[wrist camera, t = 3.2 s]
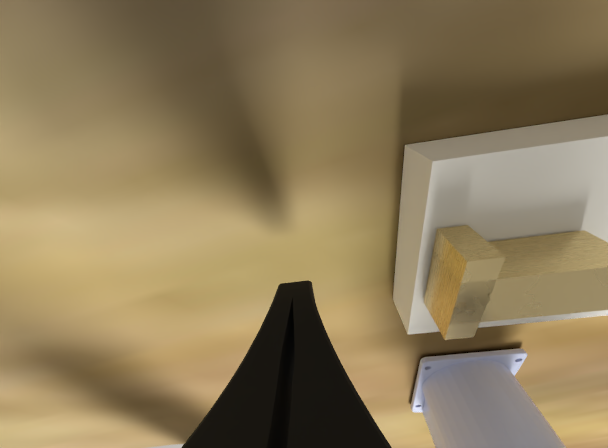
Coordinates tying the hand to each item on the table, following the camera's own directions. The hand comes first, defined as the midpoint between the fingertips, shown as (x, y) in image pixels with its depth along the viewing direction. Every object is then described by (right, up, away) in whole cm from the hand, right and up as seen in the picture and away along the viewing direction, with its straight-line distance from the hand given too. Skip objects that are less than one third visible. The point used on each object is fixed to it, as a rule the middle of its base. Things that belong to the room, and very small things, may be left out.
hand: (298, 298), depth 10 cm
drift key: (+9, +2, 0) cm, 9 cm away
